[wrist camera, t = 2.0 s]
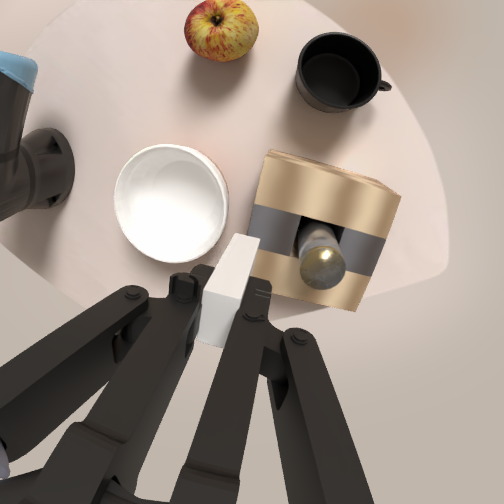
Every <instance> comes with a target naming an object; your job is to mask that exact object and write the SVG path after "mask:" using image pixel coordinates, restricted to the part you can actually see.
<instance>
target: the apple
mask: <svg viewBox="0 0 504 504" xmlns="http://www.w3.org/2000/svg"><path fill="white" fill-rule="evenodd" d="M258 32H259V26H258V22H257V20H256V17H255V15H254V13H253V12H252V10H251V9H250V8H249V7H248V6H247V5H246V4H245V3H244V2H243V1H241V0H206V1H204V2H202V3H200V4H199V5H197V6H196V7H195V8H194V9H193V10H192V11H191V12H190V14H189V15H188V17H187V19H186V23H185V27H184V34H185V38H186V41H187V43H188V45H189V46H190V48H191V49H192V50H193V51H194V52H195V53H197V54H198V55H200V56H202V57H204V58H207V59H210V60H214V61H218V62H227V61H231V60H234V59H237V58H239V57H241V56H243V55H244V54H245V53H247V52H248V51H249V50H250V49H251V48H252V47H253V45H254V43H255V41H256V39H257V36H258Z"/></svg>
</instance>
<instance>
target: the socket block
mask: <svg viewBox="0 0 504 504" xmlns="http://www.w3.org/2000/svg"><path fill="white" fill-rule="evenodd" d="M400 199H401V196H400V195H399V194H397V193H396V192H394V191H393V190H391V189H390V188H388V187H387V186H385V185H384V184H382V183H381V182H379V181H378V180H375V179H372V178H369V177H366V176H363V175H360V174H357V173H353V172H350V171H347V170H344V169H340V168H337V167H334V166H330V165H327V164H323V163H320V162H316V161H313V160H309V159H305V158H302V157H298V156H294V155H290V154H286V153H282V152H278V151H274V150H270V151H269V152H268V153H267V155H266V156H265V159H264V163H263V167H262V172H261V176H260V180H259V185H258V189H257V193H256V198H255V202H254V206H253V211H252V215H251V219H250V224H249V228H248V233H247V236H251V237H255V238H259V239H260V243H259V247H258V252H257V256H256V260H255V264H254V269H253V273H252V276H253V277H257V278H261V279H265V280H269V281H270V283H271V285H272V292H271V293H274V294H278V295H282V296H286V297H290V298H295V299H299V300H303V301H308V302H312V303H316V304H321V305H325V306H330V307H334V308H339V309H344V310H348V311H353V312H355V311H356V309H357V307H358V305H359V303H360V301H361V299H362V296H363V294H364V292H365V290H366V287H367V285H368V283H369V281H370V278H371V276H372V273H373V271H374V269H375V266H376V264H377V261H378V259H379V256H380V254H381V251H382V249H383V246H384V244H385V241H386V239H387V236H388V233H389V231H390V228H391V225H392V222H393V220H394V217H395V214H396V211H397V208H398V205H399V202H400ZM301 215H302V216H306V217H310V218H313V219H317V220H321V221H324V222H328V224H329V225H330V226H331V227H332V230H333V232H334V235H335V237H336V240H337V242H338V245H339V248H340V250H341V253H342V256H343V258H344V261H345V264H346V271H345V275H344V277H343V279H342V280H341V282H340V283H339V284H337V285H336V286H335V287H333V288H330V289H327V290H316V289H313V288H311V287H309V286H308V285H306V284H305V283H304V281H303V280H302V278H301V275H300V266H299V250H298V231H297V229H298V226H299V222H300V219H301Z"/></svg>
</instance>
